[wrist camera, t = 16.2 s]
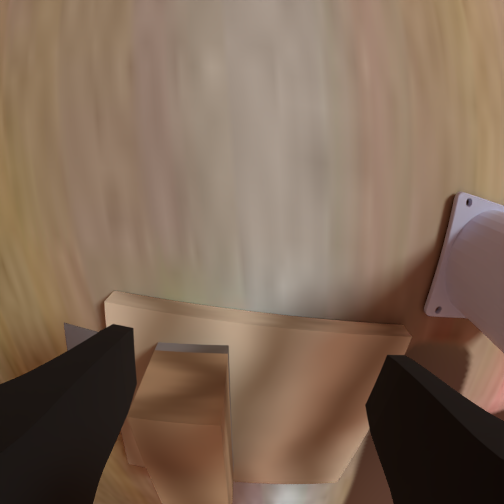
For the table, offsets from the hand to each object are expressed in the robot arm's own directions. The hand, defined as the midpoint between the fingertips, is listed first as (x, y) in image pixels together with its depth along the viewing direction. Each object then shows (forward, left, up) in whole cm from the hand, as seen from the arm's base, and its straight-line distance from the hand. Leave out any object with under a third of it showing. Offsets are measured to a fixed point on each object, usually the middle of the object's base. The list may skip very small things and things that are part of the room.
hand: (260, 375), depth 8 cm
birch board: (-1, +11, -9) cm, 15 cm away
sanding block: (+2, +11, -8) cm, 13 cm away
